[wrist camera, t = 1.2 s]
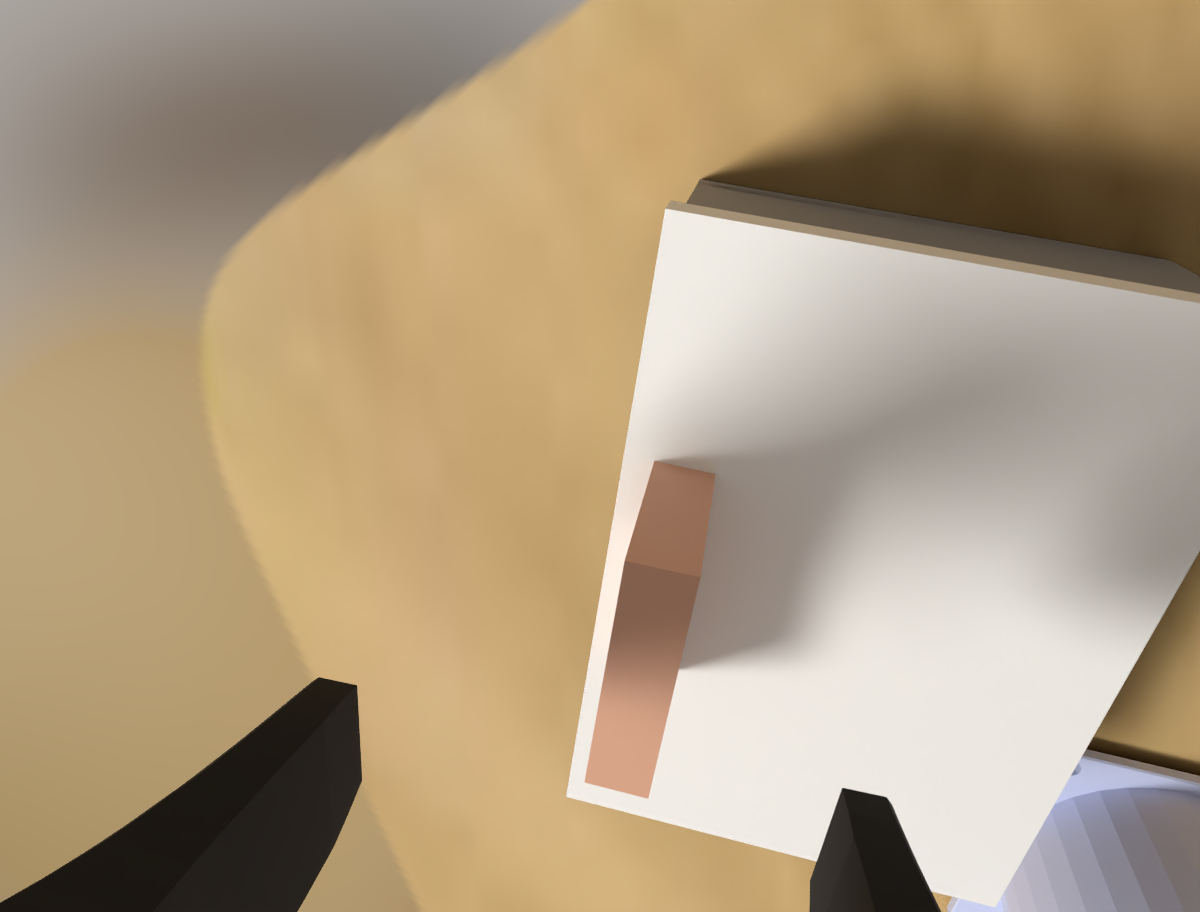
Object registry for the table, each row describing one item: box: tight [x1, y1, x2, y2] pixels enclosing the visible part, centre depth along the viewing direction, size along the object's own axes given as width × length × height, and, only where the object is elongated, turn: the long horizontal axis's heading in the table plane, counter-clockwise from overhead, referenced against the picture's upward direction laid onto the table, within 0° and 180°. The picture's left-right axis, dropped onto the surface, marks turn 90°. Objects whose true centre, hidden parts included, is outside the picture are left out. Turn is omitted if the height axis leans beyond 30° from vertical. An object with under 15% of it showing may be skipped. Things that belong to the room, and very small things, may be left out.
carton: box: [687, 179, 1200, 294], centre depth 19 cm, size 10×14×4 cm
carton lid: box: [566, 201, 1200, 908], centre depth 15 cm, size 10×14×4 cm
